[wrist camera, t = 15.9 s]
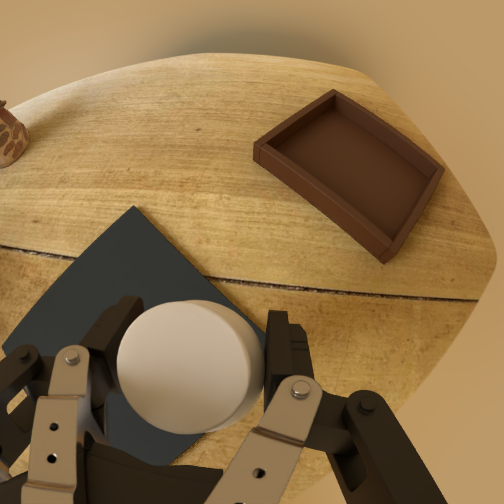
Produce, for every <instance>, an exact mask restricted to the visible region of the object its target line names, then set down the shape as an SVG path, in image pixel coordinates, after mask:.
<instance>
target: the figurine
mask: <svg viewBox="0 0 504 504" xmlns="http://www.w3.org/2000/svg"><path fill="white" fill-rule="evenodd" d="M5 104H6V101H5V100H4V101H1V100H0V168H5V167H7V166H9V165H10V164H12V163H13V162H14V161H16V160H17V159H18V158H19V156H20V155H21V154H22V153H23V151H24V150H25V149H26V147H27V146H28V144H29V138H30V137H29V133H28V132H29V131H28V130H27V129H26V128H25V126H24V124H22V123H21V122H19V121H18V120H17V119H16V118H15V117H14V116H13V115H12V114H11V113H10V112H9V111H8V110H6V109H4V106H5Z"/></svg>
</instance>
